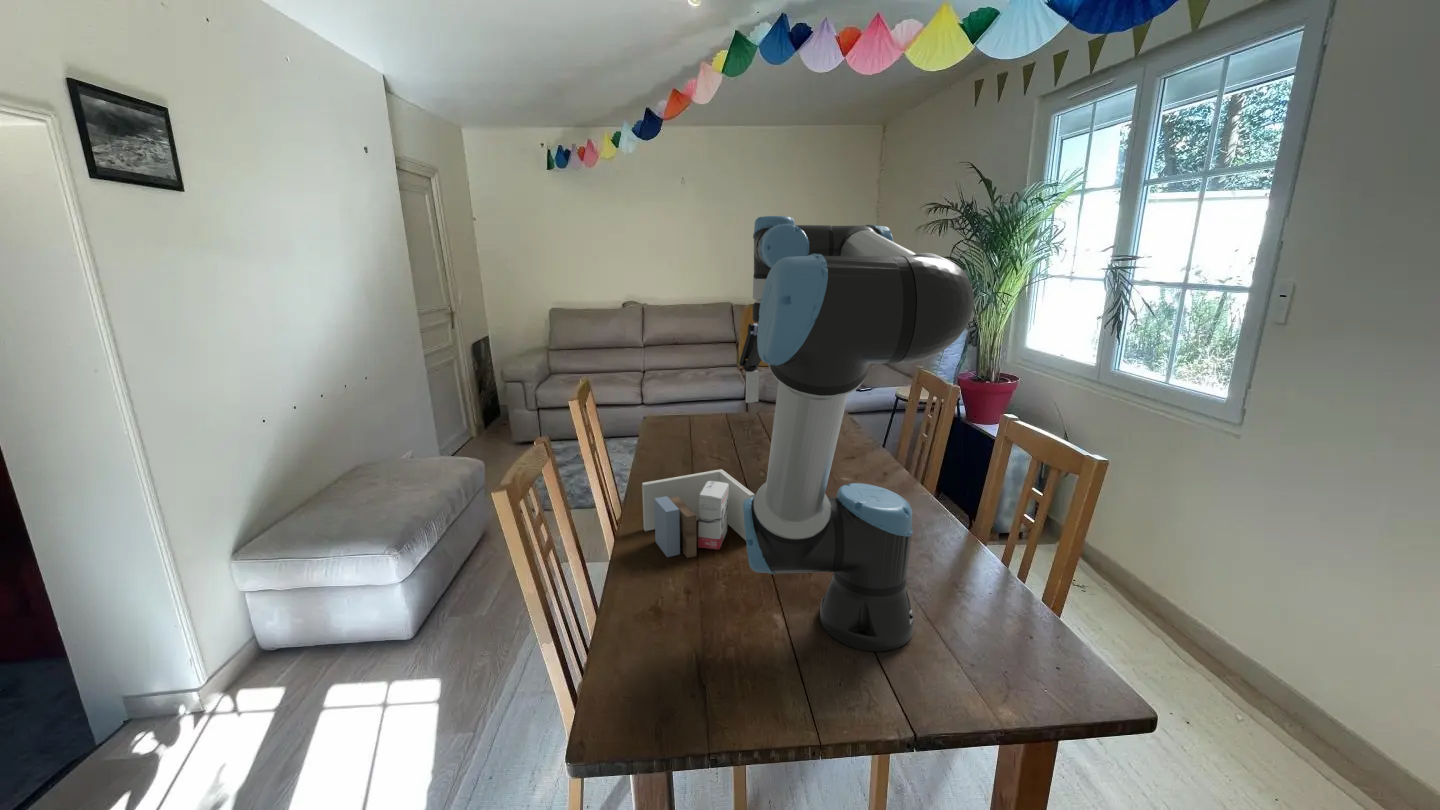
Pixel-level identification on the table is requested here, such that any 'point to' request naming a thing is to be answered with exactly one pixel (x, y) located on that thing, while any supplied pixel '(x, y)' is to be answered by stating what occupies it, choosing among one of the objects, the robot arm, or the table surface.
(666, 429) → the table surface
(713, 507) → the ink box
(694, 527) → the bookend
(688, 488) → the white corner wall
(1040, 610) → the table surface
